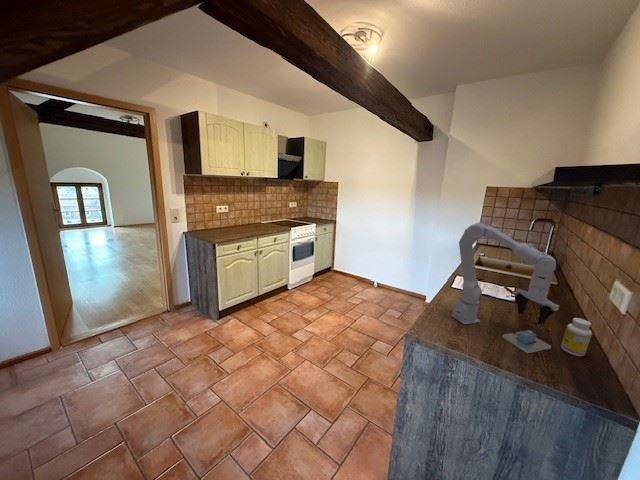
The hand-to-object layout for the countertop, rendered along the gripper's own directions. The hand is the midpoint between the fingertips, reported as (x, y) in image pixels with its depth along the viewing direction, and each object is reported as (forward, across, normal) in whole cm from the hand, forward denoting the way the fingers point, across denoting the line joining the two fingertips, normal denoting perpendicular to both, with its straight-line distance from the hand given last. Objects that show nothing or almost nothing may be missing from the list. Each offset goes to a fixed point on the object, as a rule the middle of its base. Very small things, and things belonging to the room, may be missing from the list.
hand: (530, 318), depth 101 cm
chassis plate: (+10, -2, +2) cm, 10 cm away
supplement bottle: (+10, -10, -11) cm, 18 cm away
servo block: (+10, -2, +2) cm, 10 cm away
